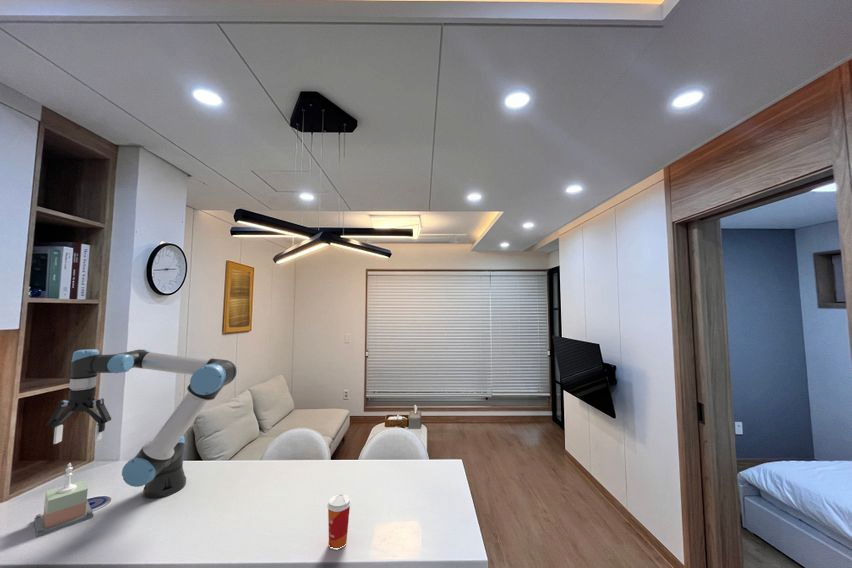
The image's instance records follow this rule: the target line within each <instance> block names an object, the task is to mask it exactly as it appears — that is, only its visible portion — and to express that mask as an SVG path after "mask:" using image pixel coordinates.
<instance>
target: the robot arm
mask: <svg viewBox="0 0 852 568" xmlns="http://www.w3.org/2000/svg"><path fill="white" fill-rule="evenodd" d="M70 363H71V364H70V365H71V366H70V367H71V368H70V371H71V372H70V379H69V386H68V389H70V390H69V391H68V398H67V399H68V400H67V399H64V400H61V401H59V402H58V405H57V408H56V409H55V410H54V411H53V413H52V415H51V417H50V418H49V419H48V421H47V423H46V426H48V427H49V426H50V427H52V433H51V434H52V436H53V441H52V443H53V445H56V444H59V443H60V442H62V441H63V431H64V424H63V422H64V421H66V419H68V417H70V416H71V415H72V414H73V413H77V412H79V413H80V412H81V413H82V412H85V413H86V414H88V415H89V416H90V417H91V418H92V419H93V420H94V421H95V423H97V424H95V429H94V439H93V440H94V442H95V443H96V442H98V441H100V440H102V438H103V432H105V429H106V423H108V422H110V421H111V420H112V416H111V415H110V413H109V411H108V408H107V407H106V405H105V400H104V398H99V399H95V396H96V391H97V388H96V386H97V378H98V374H121V373H127V372H129V371H130V370H131V369H135V368H136V369H142V370H143V369H144V370H151V371H160V372H167V373H173V374H174V373H175V374H180V375H181V374H182V375H189V376H191V377H190V379H189V382H190V383H189V385H188V386H187V387H186V390H187V394H185V396H184V397H183V398H182V400H181V401H180V403H179V404H178V406H177V407H176V408H175V410H174V411H173V412H172V413H171V414H170V416H169V417H168V419H167V420H166V421H165V423H164V424H163V425H162V427H161V428H160V430H159V431H158V432H157V434H156V435H155V437H153V439H152V440H150V441H147V442H145V444H144V445H142V447H141V449H140V450H139V451H138V453H136V455H135V456H134V457H133V458H131V459H130V460H128V461H127V462H125V464H124V465H123V467H122V470H121V477H122V480H123V481H124V482H125V484H127V485H128V486H131V487H136V488H137V487H143V486H144V487H143V490H142V496H143V497H144V498H147V499H158V498H163V497H167V496H170V495H173V494H175V493H177V492H178V491H180V490H182V489H183V488H184V487H185V486H186V485H187V476H186V474H185V471H184V466H183V464H184V453H185V443H186V442H185V436H184V434H185V433H186V432H187V431H188V429H189V428H190V426H191V425H192V424H193V422H195V420H196V419H197V416H199V414H200V413H201V412H202V411H203V409H204V407H205V406H206V404H207V403H208V402H210V401H213V400H215V398H216V397H217V396H218V394H219V393H220V392H221V390H222V389H223V388H224V387H225V386H227V385H229V384H230V383H231V382H233V381H234V380H235V378H236V376H237V370H238V369H237V366H236V365H235V364H234V363H233V362H232V361H230V360H227V359H221V358H213V357H211V358H209V359H203V358H195V357H189V356H181V355H174V354H168V353H166V354H165V353H158V352H152V351H150V350H147V349H139V348H138V349H135V350H130V351H125V352H120V353H119V352H118V353H111V354H100V350H99V349H93V348H92V349H79V350H75V351H74V352H73V353H72V358H71V362H70ZM67 406H68V408H67V409H66V407H67ZM65 409H66V410H65ZM64 411H65V412H64ZM63 412H64V413H63Z"/></svg>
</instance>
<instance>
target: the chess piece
mask: <svg viewBox="0 0 852 568" xmlns="http://www.w3.org/2000/svg"><path fill="white" fill-rule="evenodd" d="M66 466H67V468H66V467H65V469H64V470H65V473H66V474H64V477H66V478H65V483H64V485H63V487H62V486H61V487H62V488H60V489H59V490H58V493H66V492H70V491H72V490H74V489H76V485H74V484H72V482H71V481H72V480H71V476H72V475H73V473H72V472H73V470H74V467H73V464H72V463H71V462H69V463H68V464H67V465H66Z"/></svg>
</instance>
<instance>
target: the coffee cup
mask: <svg viewBox="0 0 852 568" xmlns="http://www.w3.org/2000/svg"><path fill="white" fill-rule="evenodd" d="M351 504H352V501H351V498H350V496H349V495H347V494H336V495H333V496H331V497H330V499H329V500H328V503H327V505H326V506H327V509H328V512H327V513H328V515H327V517H328V519H327V520H328V521H327V522H328V523H327V524H328V546H329V545H330V547H333V548H340V547H342V546H344V545H345V544H346V545H347V540H348V530H349V529H348V528H349V520H350V519H349V517H350V509H351V508H350V507H351ZM346 545H345V546H346ZM330 547H329V548H330Z"/></svg>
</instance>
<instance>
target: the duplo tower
mask: <svg viewBox="0 0 852 568" xmlns="http://www.w3.org/2000/svg"><path fill="white" fill-rule="evenodd" d="M71 484H74V485H76V489H74V490H72V491H70V492H66V493H58V490H59V489H60V488H62V487H63V486H64V485H63V486H62V485H61V486H59V487H55V488H52V489H48V490H45V493H44V494H45V496H44V505H43V514H42V513H39V514H36V516H35V517H34V521H33V522H34V523H33V524H34V529H35V534H36V535H37V536H36V535H35V536H36V538H39V537H42V536H44V535H48V534H50V533H53V532H56V531H58V530H59V531H60V530H62V529H65V528H67V527H71V526H73V525H76V524H77V523H81V522H83V521H86V520H89V519H92V518H94V512H93V510H92V508H91V505H90V503H89V500H88V498H87V497H88V491H89V490H88V489H89V488H88V487H87V485H86V482H85V480H84V479H83V480H80V481H76V482H71ZM38 536H39V537H38Z"/></svg>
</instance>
